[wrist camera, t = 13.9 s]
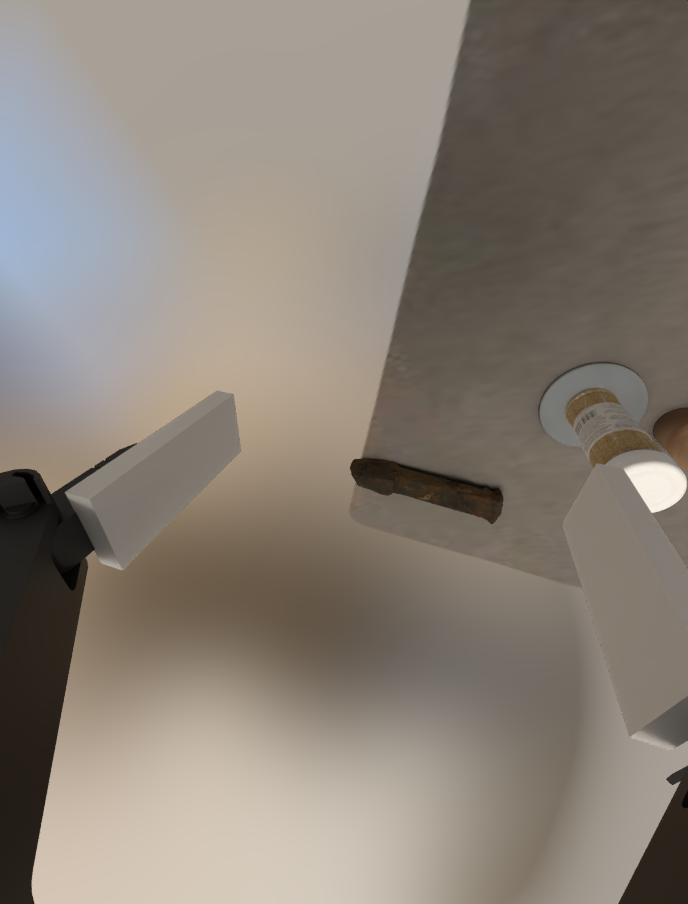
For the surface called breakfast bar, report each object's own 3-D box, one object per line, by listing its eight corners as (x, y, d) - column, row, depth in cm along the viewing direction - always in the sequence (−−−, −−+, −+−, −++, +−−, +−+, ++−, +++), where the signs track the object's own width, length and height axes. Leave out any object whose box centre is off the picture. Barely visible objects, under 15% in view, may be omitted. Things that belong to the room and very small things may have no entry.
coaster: (585, 345, 33) (587, 347, 32) (670, 391, 33) (673, 393, 32) (519, 419, 38) (520, 421, 37) (592, 458, 38) (594, 461, 37)
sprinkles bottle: (585, 436, 36) (634, 526, 26) (553, 409, 36) (590, 489, 25) (630, 406, 34) (707, 493, 23) (597, 376, 33) (660, 451, 22)
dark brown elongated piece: (504, 485, 43) (508, 510, 39) (491, 508, 45) (493, 534, 42) (358, 441, 46) (349, 459, 42) (353, 464, 48) (343, 484, 44)
